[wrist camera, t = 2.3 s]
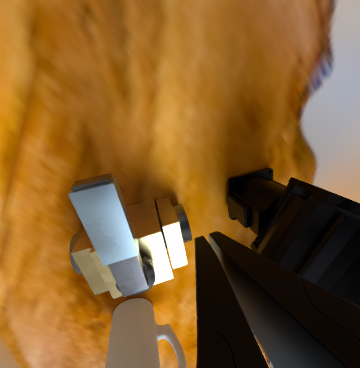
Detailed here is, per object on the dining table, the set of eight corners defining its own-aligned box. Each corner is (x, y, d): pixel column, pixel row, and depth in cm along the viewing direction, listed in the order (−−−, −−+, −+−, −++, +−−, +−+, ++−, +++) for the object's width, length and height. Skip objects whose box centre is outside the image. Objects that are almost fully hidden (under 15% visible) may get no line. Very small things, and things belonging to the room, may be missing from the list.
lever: (122, 165, 12) (119, 177, 9) (157, 275, 16) (160, 300, 14) (72, 177, 11) (57, 191, 9) (123, 287, 16) (121, 315, 13)
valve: (177, 192, 21) (193, 222, 15) (184, 230, 23) (201, 268, 18) (75, 219, 19) (49, 264, 13) (95, 257, 22) (80, 310, 16)
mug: (109, 328, 27) (93, 470, 16) (111, 299, 25) (92, 440, 14) (171, 318, 30) (191, 433, 19) (177, 291, 28) (204, 403, 17)
